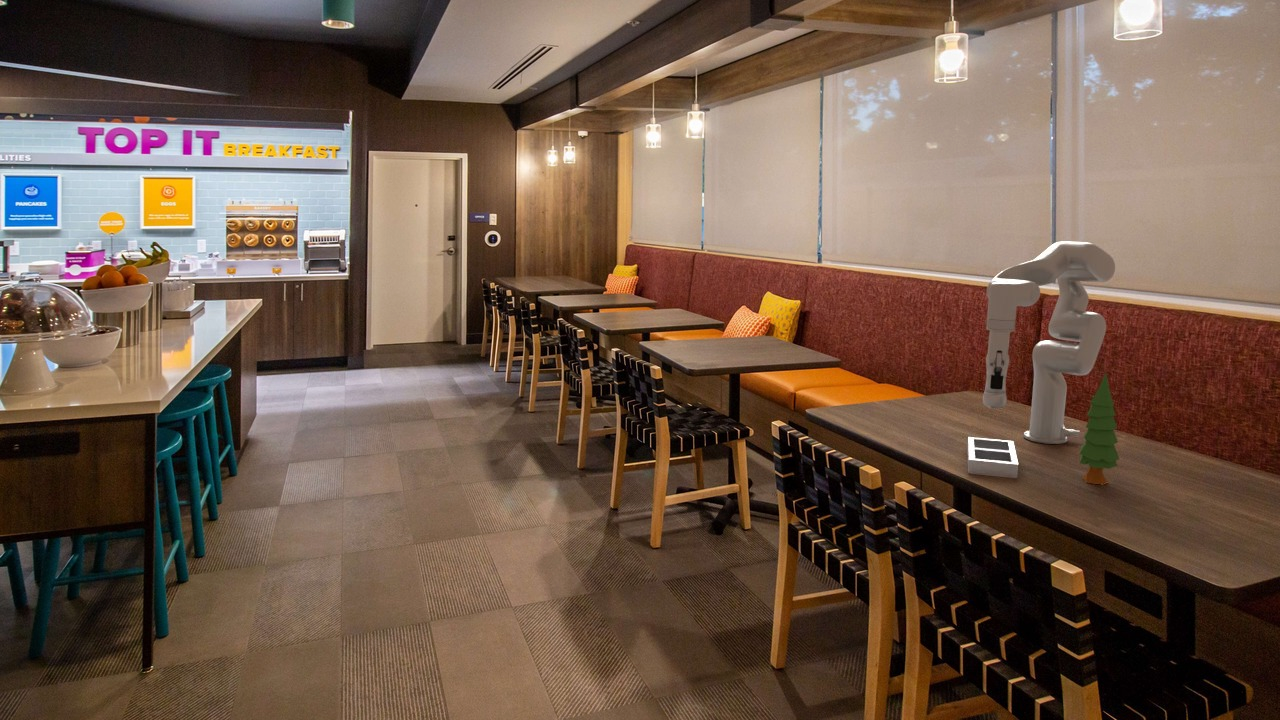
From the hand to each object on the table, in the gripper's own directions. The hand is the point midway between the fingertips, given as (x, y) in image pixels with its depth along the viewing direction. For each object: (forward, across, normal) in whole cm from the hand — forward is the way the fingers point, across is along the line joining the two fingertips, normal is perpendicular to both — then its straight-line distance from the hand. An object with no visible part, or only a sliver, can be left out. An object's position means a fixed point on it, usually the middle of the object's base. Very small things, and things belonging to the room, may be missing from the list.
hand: (995, 386), depth 242 cm
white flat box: (+22, +6, 0) cm, 22 cm away
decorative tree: (+22, +14, +26) cm, 37 cm away
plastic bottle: (+7, 0, 0) cm, 7 cm away
